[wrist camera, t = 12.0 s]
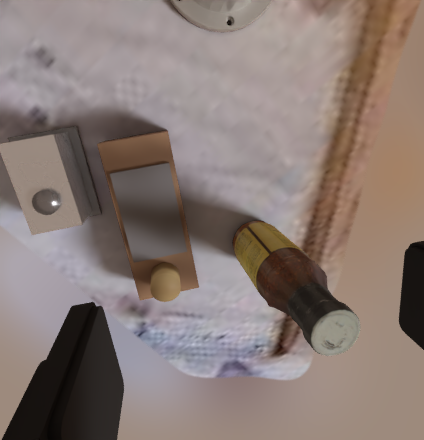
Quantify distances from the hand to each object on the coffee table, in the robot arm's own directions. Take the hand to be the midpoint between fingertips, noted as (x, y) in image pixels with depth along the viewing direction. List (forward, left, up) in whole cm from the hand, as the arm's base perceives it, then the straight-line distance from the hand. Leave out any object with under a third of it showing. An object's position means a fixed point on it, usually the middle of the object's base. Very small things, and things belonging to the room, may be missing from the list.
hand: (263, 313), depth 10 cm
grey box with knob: (-2, -14, -29) cm, 33 cm away
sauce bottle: (+11, +7, -30) cm, 33 cm away
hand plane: (+4, -5, -30) cm, 30 cm away
